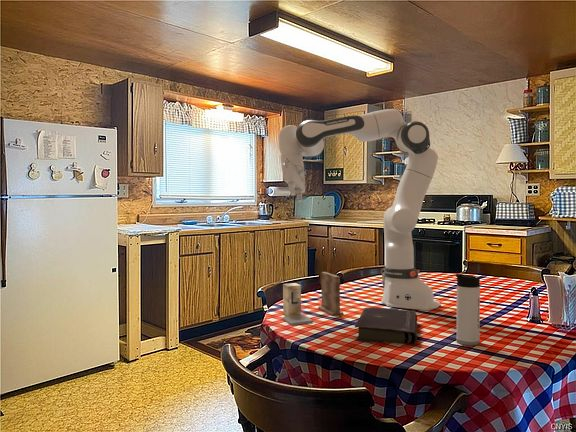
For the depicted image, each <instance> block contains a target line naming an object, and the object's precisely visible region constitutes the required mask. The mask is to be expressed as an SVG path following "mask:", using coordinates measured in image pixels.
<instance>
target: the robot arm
mask: <svg viewBox="0 0 576 432" xmlns="http://www.w3.org/2000/svg"><path fill="white" fill-rule="evenodd" d="M344 134H345V135H346V134H347V135H351V136H352V137H354V138H355V139H356V140H358V141H360V142H362V143H367V142H374V141H377V140H380V139H385V138H390V139H391V140H392V143H393V144H394V146H395V147H396V148H397V149H398V150H399V151H400V152H402V153H404V154H405V153H407V154H408V161H407V165H406V166H405V169H404V170H403V171H404V172H403V173H402V176H401V178H400V180H399V184H398V186H397V189H396V192H395V193H396V194H395V195H394V199H393V202H392V205H391V206H389V207H388V208H387V209H386V210H385V211H384V214H383V233H384V234H383V235H384V247H385V252H384V253H385V254H384V255H385V258H384V259H385V262H384V263H385V266H384V267H383V268H384V279H385V286H384V289H383V294H382V297H381V303H383V304H384V305H386V306H387V307H391V308H399V309H411V310H419V311H420V310H422V311H429V310H434V309H437V308H439V307H440V305H441V303H440V301H439V300H436V299H435V298H434V297H435V296H434V291H433V289H432V288H431V287H430V286H429V285H428V284H426V283H425V282H424V281H423V280H422V279H420V278H419V273H420V269H418V270H417V268H415V267H414V266H415V263H414V261H415V255H414V251H415V250H414V249H415V248H414V242H413V235H412V234H413V233H412V231H413V230H414V229H415V228H416V226H417V224H418V220H419V218H420V217H419V216H420V213H421V211H422V210H421V209H422V206H423V202H424V199H425V196H426V194H427V192H428V189H429V187H430V185H431V182H432V179H433V177H434V175H435V171H436V167H437V164H438V162H439V161H438V160H439V159H438V158H439V156H438V153H437V151H435V150H434V149H433V148H431V139H430V131H429V128H428V126H427V125H426V124H425V123H423V122H421V121H416V120H414V121H410V122H408V123H407V122H406V121H405V120H404V116H403V114H402V113H401V111H400V110H399V109H396V108H386V109H381V110H376V111H371V112H368V113H362V114H357V115H346V116H342V117H335V118H331V119H326V120H325V119H324V120H316V119H315V120H314V119H308V120H304V121H302V122H301V123H300V124H298V126H296V125H294V124H291V125H290V124H289V125H286V126H283V128H281V129H280V131H279V133H278V149H279V152H280V164H281V165H280V166H281V171H282V178H283V181H284V182H285V183H286V184H287V185H288V190H289V194H290V195H291V197H292V196H296V200H297V202H299V203H300V202H302V201H303V198H302V197H303V194H304V193H305V192H306V176H305V174H306V168H305V166H304V158H303V157H308V158H310V157H312V158H314V157H317V156H319V155H320V154H321V153H323V151H324V148H325V140H324V139H326V138H329V137H334V136H339V135H344Z"/></svg>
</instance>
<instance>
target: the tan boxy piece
mask: <svg viewBox="0 0 576 432" xmlns="http://www.w3.org/2000/svg"><path fill="white" fill-rule="evenodd" d="M282 301H283V303H282V307H283V309H282V310H283V312H282V313H283V315H285V317H289V316H298V315H302V285H301V284H298V283H297V282H292V283H290V282H289V283H283V284H282Z"/></svg>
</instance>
